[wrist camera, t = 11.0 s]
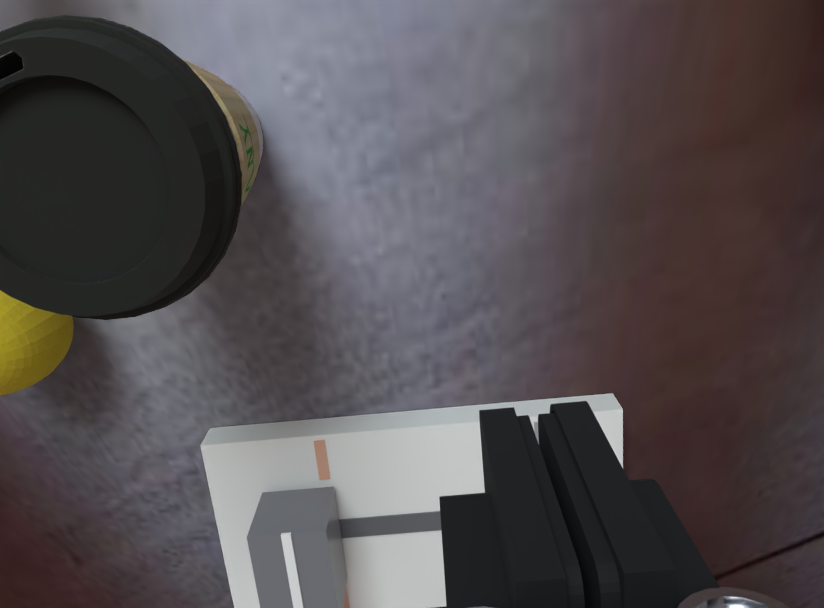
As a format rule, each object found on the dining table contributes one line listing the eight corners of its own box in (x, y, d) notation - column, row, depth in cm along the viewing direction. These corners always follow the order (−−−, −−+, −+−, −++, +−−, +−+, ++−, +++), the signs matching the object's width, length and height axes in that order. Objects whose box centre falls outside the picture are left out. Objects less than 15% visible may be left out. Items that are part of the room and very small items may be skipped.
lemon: (17, 238, 37) (-83, 281, 30) (114, 291, 38) (42, 346, 31) (-21, 323, 39) (-126, 385, 31) (73, 372, 40) (-6, 443, 32)
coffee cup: (164, 264, 38) (17, 380, 24) (65, 85, 35) (-171, 96, 21) (332, 190, 37) (283, 267, 22) (243, 0, 34) (124, -51, 20)
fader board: (612, 393, 40) (623, 410, 38) (613, 569, 44) (623, 593, 42) (210, 427, 41) (199, 446, 39) (244, 599, 45) (237, 624, 43)
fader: (333, 485, 39) (325, 531, 35) (347, 577, 41) (340, 630, 37) (262, 491, 39) (245, 538, 36) (278, 582, 41) (264, 636, 37)
